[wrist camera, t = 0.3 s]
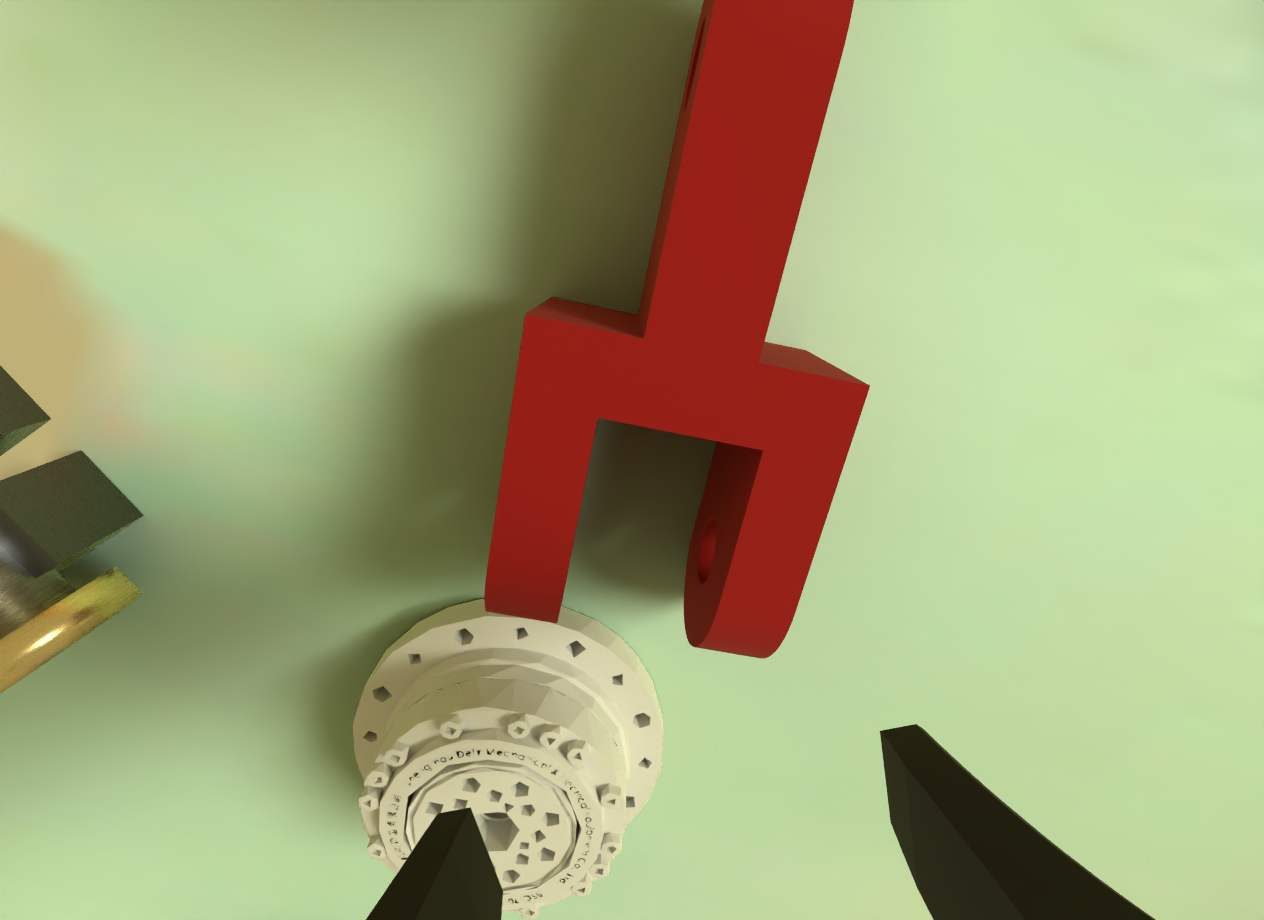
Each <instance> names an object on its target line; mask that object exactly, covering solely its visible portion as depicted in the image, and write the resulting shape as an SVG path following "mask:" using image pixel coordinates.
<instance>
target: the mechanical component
mask: <svg viewBox="0 0 1264 920" xmlns="http://www.w3.org/2000/svg"><path fill="white" fill-rule="evenodd" d="M352 726H353V739H354V751H355V759H356V761H357V764H358V767H359V770H360V773H361V775H362V778H363V781H364V789H363V793H362V794H361V796H360V797H359V807H361V815H362V820H363V825H364V829H365V831H366V833H367V834H368V836H369V838H370V842H369V844H368V847H367V854H368V856H369V857H371V858H373V859H382V861H383V862H384V864H385V866H386V867H388V868H389V869H390V870H391V871H393V872H394V873H395V874H397V873H398V872H399V870H400V869H401V867H402V866H403V864H404V863H405V861H406V859H407V858H408V856H409V855H410V853H411V852H412V850H413V849H414V847H415V846H416V844H417V843H418V841H419V840H420V838H421V837H422V835H423V834H424V832H425V831H426V830H427V828H428V827H429V825H430V824H431V822H432V821H433V819H434V818H435V816H436V815H437V814H438V813H443V812H448V811H454V810H459V809H464V808H470V807H471V809H472V812H473V815H474V817H475V820H476V822H477V825H478V828H479V830H480V833H481V835H482V838H483V840H484V843H485V846H486V848H487V851H488V853H489V856H490V859H491V861H492V864H493V866H494V869H495V871H496V874H497V877H498V879H499V882H500V884H501V887H502V890H503V900H502V911H520V912H521V916H523V917H525V918H527V919H533V918H535V917H537V916H538V915H539V911H540V907H541V906H546V905H549V904H552V903H554V902H557V901H559V900H562V899H564V898H567V897H569V896H571V895H573V894H575V895H577V896H579V897H581V896H587V895H588V894H589V893H590V892H591V885H592V881H593V880H595V879H596V878H600V879H602V878H603V877H605V876H606V875H608V874H609V873H610V862H611V861H612V860H613V858H614V857H616V856H617V855H618V854H619V853H620V852H621V851H622V841H621V840H622V837H623V835H624V833H625V830H626V825H628V824H629V822H630V821H631V820H632V819H633V818H634V817H635V815H636V814H637V813H638V812H639V811H640V809H641V808H642V807H643V806H644V805H645V803H646V802H647V801H648V800H649V798H650V795H651V793H652V790H653V788H654V785H655V783H656V780H657V778H658V775H659V773H660V770H661V768H662V751H663V733H664V730H663V721H662V712H661V709H660V705H659V702H658V698H657V695H656V692H655V688H654V685H653V681H652V679H651V677H650V676H649V674H648V672H647V671H646V669H645V668H644V666H643V664H642V663H641V661H640V660H639V658H638V656H637V655H636V654H635V653H634V652H633V651H632V650H631V649H630V648H629V647H628V646H627V645H626V644H625V642H624V641H623V640H622V639H621V638H620V637H619V636H618V635H616V634H615V633H613V632H612V631H610V630H609V629H608V628H606V627H605V626H603V625H602V624H600V623H599V622H598V621H596V620H594V619H592V618H590V617H587V616H585V615H582V614H580V613H577V612H575V611H572V610H570V609H568V608H565V607H563V606H561V608H560V613H559V618H558V622H557V624H556V623H550V622H544V621H539V620H533V619H527V618H521V617H515V616H509V615H503V614H497V613H492V612H486V610H485V599H479V600H475V601H471V602H467V603H463V604H459V605H455V606H451V607H448V608H446V609H444V610H442V611H439V612H437V613H435V614H433V615H431V616H429V617H427V618H425V619H423V620H421V621H419V622H418V623H417V624H415V625H414V626H413V627H412V628H411V629H410V630H409V631H407V632H406V633H405V634H404V635H403V636H402V637H400V638H399V639H398V640H397V641H396V642H395V643H393V644H392V645H391V646H390V647H389V648H388V649H386V651H385V653H384V654H383V656H382V658H381V659H380V661H379V663H378V664H377V666H376V668H375V669H374V671H373V673H372V674H371V676H370V678H369V679H368V681H367V682H366V684H365V687H364V690H363V693H362V696H361V699H360V702H359V705H358V708H357V712H356V715H355V718H354V721H353V724H352Z"/></svg>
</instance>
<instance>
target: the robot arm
mask: <svg viewBox="0 0 1264 920" xmlns="http://www.w3.org/2000/svg"><path fill="white" fill-rule="evenodd" d="M880 735H881V743H882V752H883V760H884V769H885V777H886V786H887V794H888V803H889V811H890V820H891V824H892V826H893V829H894V831H895V834H896V836H897V839H898V841H899V844H900V847H901V849H902V852H903V854H904V857H905V859H906V861H907V864H908V866H909V869H910V871H911V874H912V876H913V878H914V881H915V883H916V886H917V888H918V890H919V892H920V894H921V896H922V898H923V900H924V902H925V904H926V906H927V908H928V910H929V912H930V914H931V915H932V917H933V919H934V920H1155V919H1154V918H1152V917H1151V916H1150V915H1148V914H1147V913H1145V912H1144V911H1142V910H1141V909H1140V908H1138V907H1137V906H1135V905H1134V904H1133V903H1131V902H1130V901H1128V900H1127V899H1126V898H1124V897H1123V896H1121V895H1120V894H1119V893H1117V892H1116V891H1115V890H1113V889H1112V888H1111V887H1109V886H1108V885H1107V884H1105V883H1104V882H1102V881H1101V880H1100V879H1098V878H1097V877H1096V876H1095V875H1093V874H1092V873H1091V872H1089V871H1088V870H1087V869H1085V868H1084V867H1083V866H1082V865H1080V864H1079V863H1078V862H1076V861H1075V860H1074V859H1072V858H1071V857H1070V856H1068V855H1067V854H1066V853H1065V852H1063V851H1062V850H1061V849H1060V848H1058V847H1057V846H1056V845H1055V844H1053V843H1052V842H1051V841H1050V840H1048V839H1047V838H1046V837H1045V836H1043V835H1042V834H1041V833H1040V832H1038V831H1037V830H1036V829H1035V828H1034V827H1032V826H1031V825H1030V824H1029V823H1028V822H1026V821H1025V820H1024V819H1023V818H1022V817H1021V816H1019V815H1018V814H1017V813H1016V812H1015V811H1013V810H1012V809H1011V808H1010V807H1009V806H1007V805H1006V804H1005V803H1004V802H1003V801H1001V800H1000V799H999V798H998V797H997V796H996V795H995V794H993V793H992V792H991V791H990V790H989V789H988V788H986V787H985V786H984V785H983V784H982V783H981V782H980V781H979V780H978V779H976V778H975V777H974V776H973V775H972V774H971V773H970V772H969V771H967V770H966V769H965V768H964V767H963V766H962V765H961V764H960V763H959V762H958V761H957V760H955V759H954V758H953V757H952V756H951V755H950V754H949V753H948V752H947V751H946V750H945V749H944V748H943V747H942V746H941V745H939V744H938V743H937V742H936V741H935V740H934V739H933V738H932V737H931V736H930V735H929V734H928V733H927V732H926V731H925V730H924V729H923V728H921V727H920V726H918V725H917V724H915V725H910V726H904V727H899V728H893V729H888V730H883V731H880ZM502 900H503V890H502V887H501V884H500V882H499V879H498V877H497V874H496V871H495V869H494V866H493V864H492V861H491V859H490V856H489V853H488V851H487V848H486V846H485V843H484V840H483V838H482V835H481V833H480V830H479V828H478V825H477V822H476V820H475V817H474V815H473V812H472V809H471V807H470V808H464V809H459V810H454V811H448V812H443V813H438V814H437V815H436V816H435V818H434V819H433V821H432V822H431V824H430V825H429V827H428V828H427V830H426V831H425V832H424V834H423V835H422V837H421V838H420V840H419V841H418V843H417V844H416V846H415V847H414V849H413V850H412V852H411V853H410V855H409V856H408V858H407V859H406V861H405V863H404V864H403V866H402V867H401V869H400V870H399V872H398V873H397V875H396V876H395V878H394V879H393V881H392V882H391V884H390V885H389V887H388V888H387V890H386V891H385V893H384V894H383V896H382V897H381V899H380V900H379V901H378V903H377V904H376V906H375V907H374V909H373V910H372V912H371V913H370V915H369V916H368V917H367V919H366V920H501V913H502Z"/></svg>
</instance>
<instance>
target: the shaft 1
mask: <svg viewBox="0 0 1264 920" xmlns="http://www.w3.org/2000/svg"><path fill="white" fill-rule="evenodd" d="M50 419H51V418H50V417H49V416H48V415H47V414H46V413H45V412H44V411H43V410H42V409H41V408H40V407H39V406H38V405H37V404H36V403H35V402H34V401H33V399H32V398H31V397H30V396H29V395H28V394H27V393H26V392H25V391H24V390H23V389H22V388H21V387H20V386H19V385H18V384H17V383H16V382H15V381H14V380H13V378H12V377H11V376H9V374H8V373H7V372H6V371H5V370H4V369H3V368H2V367H1V366H0V456H1V455H2V454H4V453H5V452H7V451H8V450H9V449H11V448H12V447H13V446H14V445H16V444H17V443H19V442H20V441H22V440H23V439H24V438H26V437H27V436H28V435H30V434H31V433H33V432H34V431H35V430H37V429H38V428H39V427H41V426H42V425H44V424H45V423H46V422H48V421H49V420H50ZM142 516H143V515H142V514H141V512H140V511H139V510H138V509H137V508H136V507H135V506H134V505H133V504H132V503H131V502H130V501H129V500H128V499H127V498H126V497H125V496H124V495H123V494H122V493H121V492H120V490H119V489H118V488H117V487H116V486H115V485H114V484H113V483H112V482H111V481H110V480H109V479H108V478H107V477H106V476H105V475H104V474H103V473H102V472H101V471H100V470H99V468H98V467H97V466H96V465H95V464H94V463H93V462H92V461H91V460H90V459H89V458H88V457H87V456H86V455H85V454H84V453H83V452H82V451H79V452H76V453H73V454H71V455H68V456H65V457H62V458H60V459H57V460H54V461H52V462H49V463H46V464H44V465H41V466H38V467H36V468H33V469H30V470H28V471H25V472H22V473H20V474H17V475H14V476H12V477H9V478H6V479H4V480H1V481H0V693H1V692H3V691H4V690H6V689H7V688H9V687H10V686H12V685H13V684H15V683H16V682H18V681H19V680H21V679H22V678H24V677H25V676H27V675H28V674H30V673H31V672H33V671H34V670H36V669H37V668H39V667H40V666H41V665H43V664H44V663H46V662H47V661H49V660H50V659H52V658H53V657H55V656H56V655H58V654H59V653H60V652H62V651H63V650H65V649H66V648H68V647H69V646H71V645H72V644H73V643H75V642H76V641H78V640H79V639H81V638H82V637H83V636H85V635H86V634H88V633H89V632H91V631H92V630H93V629H95V628H96V627H98V626H99V625H101V624H102V623H103V622H105V621H106V620H108V619H109V618H110V617H112V616H113V615H115V614H116V613H117V612H119V611H120V610H121V609H123V608H124V607H126V606H127V605H128V604H130V603H131V602H132V601H134V600H135V599H136V598H138V597H139V596H140V595H141V594H142V592H141V591H140V590H139V589H138V588H137V587H136V586H135V585H134V584H133V583H132V582H131V581H130V580H129V579H128V578H127V577H126V576H125V575H124V574H123V573H122V572H121V571H120V570H119V569H118V568H117V567H114V568H112V569H111V570H109V571H107V572H106V573H104V574H102V575H101V576H99V577H98V578H96V579H94V580H93V581H91V582H90V583H88V584H86V585H85V586H83V587H82V588H80V589H78V590H75V589H74V588H73V587H72V586H71V585H70V584H69V583H68V582H67V581H66V580H65V579H64V578H63V577H62V576H61V575H60V574H59V572H61V571H62V570H64V569H65V568H67V567H68V566H70V565H71V564H72V563H74V562H75V561H77V560H78V559H80V558H81V557H83V556H84V555H86V554H87V553H89V552H90V551H92V550H93V549H95V548H96V547H98V546H99V545H101V544H102V543H104V542H105V541H107V540H108V539H110V538H111V537H113V536H114V535H116V534H117V533H119V532H120V531H122V530H123V529H124V528H126V527H127V526H129V525H130V524H132V523H133V522H135V521H136V520H138V519H139V518H141V517H142Z"/></svg>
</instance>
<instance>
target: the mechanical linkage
mask: <svg viewBox="0 0 1264 920" xmlns="http://www.w3.org/2000/svg"><path fill="white" fill-rule="evenodd" d="M853 2H854V0H704V3H703V7H702V11H701V15H700V20H699V24H698V29H697V33H696V37H695V42H694V47H693V52H692V56H691V61H690V66H689V71H688V76H687V81H686V86H685V90H684V95H683V100H682V105H681V110H680V115H679V120H678V124H677V129H676V134H675V139H674V144H673V149H672V154H671V158H670V163H669V168H668V173H667V178H666V183H665V188H664V192H663V197H662V202H661V207H660V212H659V217H658V222H657V226H656V231H655V236H654V241H653V246H652V251H651V256H650V260H649V265H648V270H647V275H646V280H645V285H644V290H643V294H642V299H641V304H640V309H639V314H638V315H635V314H630V313H625V312H620V311H616V310H611V309H606V308H601V307H597V306H592V305H587V304H582V303H578V302H573V301H568V300H563V299H559V298H554V297H551V298H549V299H548V300H546V301H545V302H543V303H542V304H540V305H539V306H537V307H536V308H534V309H533V310H531V311H530V312H528V313H527V314H526V315H525V322H524V328H523V335H522V342H521V348H520V355H519V362H518V368H517V375H516V382H515V388H514V395H513V401H512V408H511V415H510V421H509V428H508V435H507V441H506V448H505V454H504V461H503V468H502V474H501V481H500V488H499V494H498V501H497V508H496V514H495V521H494V527H493V534H492V541H491V547H490V554H489V561H488V568H487V576H486V585H485V610H486V612H492V613H497V614H503V615H509V616H515V617H521V618H527V619H533V620H539V621H544V622H550V623H556V624H557V622H558V618H559V613H560V608H561V603H562V598H563V593H564V588H565V583H566V578H567V573H568V568H569V563H570V558H571V553H572V548H573V542H574V537H575V532H576V527H577V522H578V517H579V512H580V507H581V502H582V496H583V491H584V486H585V481H586V476H587V471H588V466H589V461H590V456H591V451H592V445H593V440H594V435H595V430H596V425H597V420H598V418H601V419H606V420H611V421H616V422H621V423H626V424H631V425H636V426H641V427H646V428H651V429H657V430H662V431H667V432H672V433H677V434H682V435H687V436H692V437H697V438H702V439H707V440H713V441H717V442H716V446H715V450H714V454H713V458H712V462H711V465H710V469H709V473H708V477H707V481H706V485H705V489H704V492H703V496H702V500H701V504H700V508H699V512H698V515H697V519H696V523H695V527H694V531H693V535H692V538H691V542H690V547H689V553H688V559H687V567H686V576H685V588H684V622H685V630H686V635H687V638H688V641H689V643H690V644H691V645H692V646H693V647H697V648H703V649H709V650H715V651H721V652H727V653H733V654H738V655H744V656H750V657H756V658H767V657H769V656H771V655H772V654H773V653H774V652H775V651H776V650H777V649H778V647H779V646H780V645H781V643H782V641H783V640H784V638H785V636H786V634H787V632H788V630H789V627H790V625H791V623H792V620H793V617H794V614H795V611H796V608H797V605H798V602H799V599H800V596H801V593H802V590H803V587H804V584H805V581H806V578H807V575H808V572H809V569H810V566H811V563H812V560H813V557H814V554H815V551H816V548H817V545H818V542H819V539H820V536H821V533H822V530H823V527H824V524H825V521H826V518H827V515H828V512H829V509H830V506H831V502H832V499H833V496H834V493H835V490H836V487H837V484H838V481H839V478H840V475H841V472H842V469H843V466H844V463H845V460H846V457H847V454H848V451H849V448H850V445H851V442H852V439H853V436H854V433H855V430H856V427H857V424H858V421H859V418H860V415H861V412H862V409H863V406H864V403H865V400H866V397H867V393H868V390H869V387H870V386H869V385H868V384H866V383H864V382H862V381H860V380H859V379H857V378H855V377H853V376H851V375H849V374H848V373H846V372H844V371H842V370H840V369H839V368H837V367H835V366H833V365H831V364H830V363H828V362H826V361H824V360H822V359H820V358H819V357H817V356H815V355H813V354H811V353H810V352H808V351H806V350H801V349H797V348H792V347H787V346H782V345H777V344H773V343H768V342H764V341H765V337H766V333H767V330H768V326H769V322H770V318H771V315H772V311H773V307H774V304H775V300H776V296H777V293H778V289H779V285H780V282H781V278H782V274H783V270H784V267H785V263H786V259H787V256H788V252H789V248H790V245H791V241H792V237H793V233H794V230H795V226H796V222H797V219H798V215H799V211H800V208H801V204H802V200H803V197H804V193H805V189H806V185H807V182H808V178H809V174H810V171H811V167H812V163H813V160H814V156H815V152H816V149H817V145H818V141H819V137H820V134H821V130H822V126H823V123H824V119H825V115H826V112H827V108H828V104H829V101H830V97H831V93H832V89H833V86H834V82H835V78H836V75H837V71H838V67H839V64H840V60H841V56H842V52H843V48H844V44H845V40H846V36H847V32H848V28H849V23H850V18H851V13H852V8H853Z"/></svg>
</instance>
